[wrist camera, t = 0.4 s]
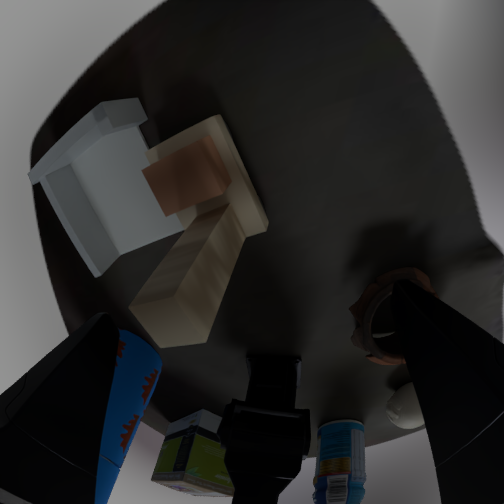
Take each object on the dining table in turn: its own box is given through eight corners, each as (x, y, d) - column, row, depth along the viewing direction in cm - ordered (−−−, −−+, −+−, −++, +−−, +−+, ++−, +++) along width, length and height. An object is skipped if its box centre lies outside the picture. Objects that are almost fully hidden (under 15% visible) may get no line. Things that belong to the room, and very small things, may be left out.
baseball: (388, 376, 31) (395, 419, 26) (436, 369, 30) (446, 409, 24) (379, 400, 35) (382, 439, 29) (422, 394, 33) (429, 431, 27)
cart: (270, 216, 23) (238, 339, 12) (206, 237, 25) (140, 351, 14) (223, 113, 19) (125, 141, 8) (159, 145, 21) (41, 207, 10)
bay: (200, 222, 24) (178, 252, 20) (115, 256, 28) (89, 283, 24) (138, 97, 19) (101, 102, 15) (61, 158, 23) (27, 174, 19)
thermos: (92, 341, 38) (19, 464, 17) (114, 315, 33) (19, 474, 12) (144, 380, 41) (89, 507, 20) (177, 363, 36) (113, 525, 15)
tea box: (208, 440, 52) (192, 496, 39) (169, 421, 49) (147, 480, 37) (249, 428, 44) (234, 499, 32) (202, 406, 42) (179, 482, 30)
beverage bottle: (374, 421, 38) (376, 526, 21) (346, 438, 43) (341, 530, 26) (334, 414, 38) (328, 530, 21) (308, 431, 42) (297, 531, 25)
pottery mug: (327, 327, 29) (331, 353, 21) (368, 247, 28) (387, 245, 20) (414, 368, 26) (438, 400, 18) (453, 294, 25) (490, 307, 17)
